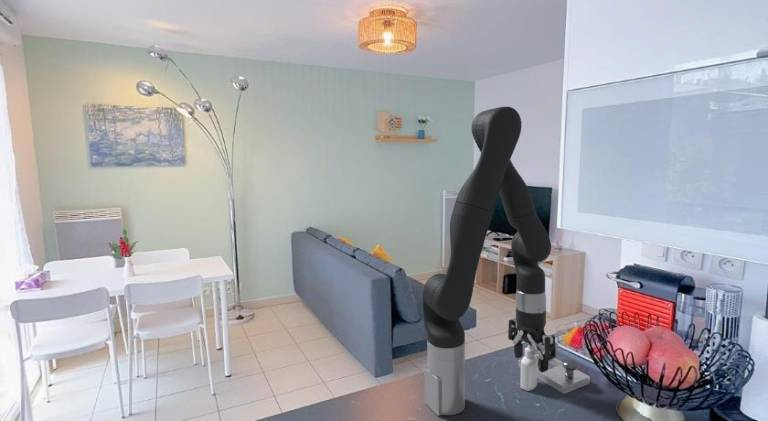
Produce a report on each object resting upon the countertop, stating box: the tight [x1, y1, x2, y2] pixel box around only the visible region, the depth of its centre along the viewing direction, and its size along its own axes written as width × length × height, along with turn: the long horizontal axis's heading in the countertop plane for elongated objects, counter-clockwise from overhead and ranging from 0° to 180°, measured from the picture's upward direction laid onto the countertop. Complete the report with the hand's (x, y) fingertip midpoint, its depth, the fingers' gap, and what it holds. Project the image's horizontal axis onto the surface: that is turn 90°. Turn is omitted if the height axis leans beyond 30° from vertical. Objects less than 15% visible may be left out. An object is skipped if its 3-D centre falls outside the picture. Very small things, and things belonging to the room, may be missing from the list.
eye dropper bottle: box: [519, 343, 539, 392], centre depth 108 cm, size 4×6×12 cm
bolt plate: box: [517, 351, 591, 395], centre depth 114 cm, size 10×16×6 cm, turn 26°
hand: (530, 363), depth 109 cm, fingers open, 8 cm apart
